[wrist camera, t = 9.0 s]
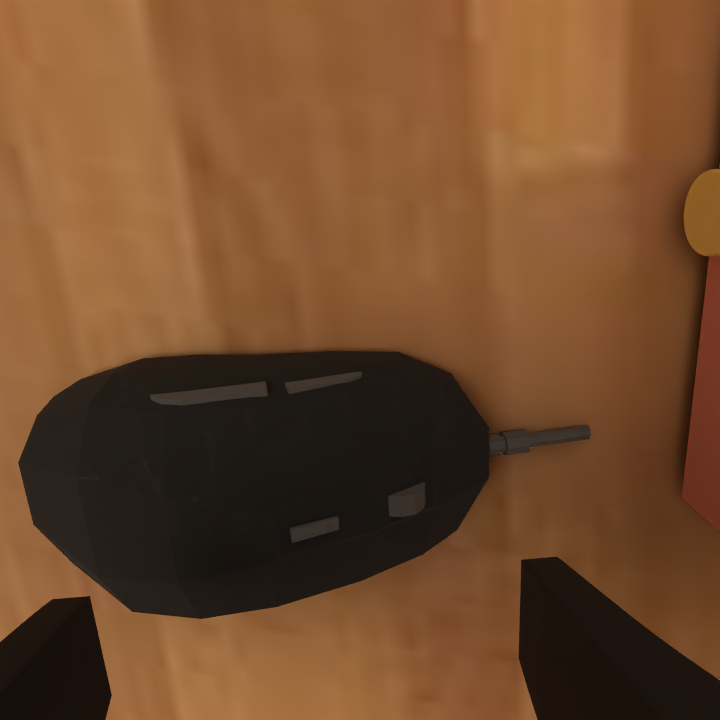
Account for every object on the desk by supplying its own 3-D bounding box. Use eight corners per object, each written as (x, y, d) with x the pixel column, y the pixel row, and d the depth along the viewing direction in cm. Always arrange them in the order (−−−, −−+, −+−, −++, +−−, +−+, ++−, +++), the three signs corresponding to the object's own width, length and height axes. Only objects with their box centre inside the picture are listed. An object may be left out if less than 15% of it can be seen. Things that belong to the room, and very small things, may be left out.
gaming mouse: (580, 528, 18) (649, 624, 14) (67, 575, 17) (-5, 688, 14) (589, 318, 16) (673, 364, 12) (15, 363, 16) (-84, 426, 12)
